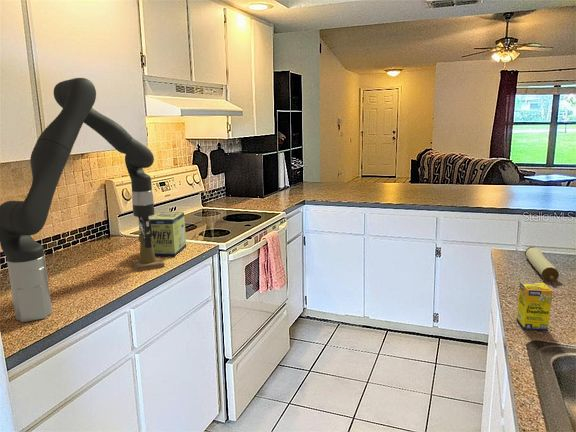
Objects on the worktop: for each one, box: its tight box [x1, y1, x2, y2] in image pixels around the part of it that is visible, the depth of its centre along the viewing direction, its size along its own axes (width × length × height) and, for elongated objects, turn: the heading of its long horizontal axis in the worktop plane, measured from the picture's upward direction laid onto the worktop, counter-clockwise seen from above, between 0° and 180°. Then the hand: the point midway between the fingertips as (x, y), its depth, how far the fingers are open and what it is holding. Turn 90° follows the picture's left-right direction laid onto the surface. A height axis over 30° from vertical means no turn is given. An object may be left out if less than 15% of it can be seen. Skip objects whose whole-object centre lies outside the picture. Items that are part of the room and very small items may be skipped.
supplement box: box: [516, 281, 553, 332], centre depth 117 cm, size 6×6×11 cm
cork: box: [138, 233, 156, 264], centre depth 171 cm, size 6×6×11 cm
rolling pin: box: [524, 246, 560, 283], centre depth 159 cm, size 32×6×5 cm, turn 164°
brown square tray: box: [132, 257, 165, 272], centre depth 173 cm, size 10×10×2 cm
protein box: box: [149, 211, 187, 258], centre depth 189 cm, size 10×16×16 cm
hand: (146, 245), depth 171 cm, fingers open, 8 cm apart
